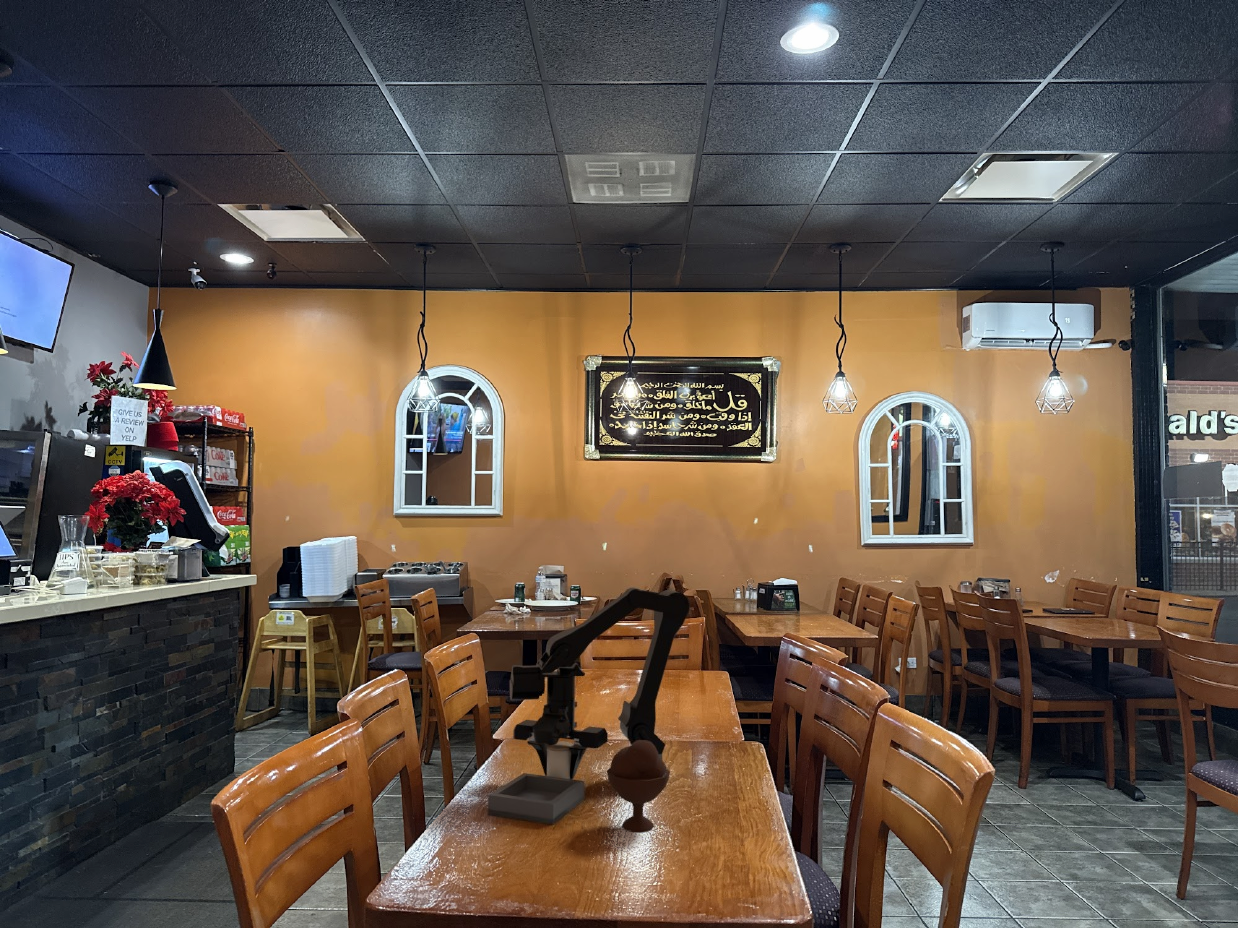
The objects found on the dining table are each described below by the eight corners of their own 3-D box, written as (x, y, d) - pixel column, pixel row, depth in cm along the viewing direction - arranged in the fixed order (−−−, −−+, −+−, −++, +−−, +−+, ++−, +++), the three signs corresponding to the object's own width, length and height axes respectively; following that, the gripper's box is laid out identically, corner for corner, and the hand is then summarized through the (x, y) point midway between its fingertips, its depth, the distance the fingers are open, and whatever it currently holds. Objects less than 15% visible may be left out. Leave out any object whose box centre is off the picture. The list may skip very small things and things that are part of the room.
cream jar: (577, 782, 165) (577, 742, 166) (566, 790, 160) (566, 749, 161) (552, 779, 167) (553, 740, 168) (541, 787, 162) (542, 746, 163)
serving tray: (584, 799, 155) (584, 780, 155) (553, 824, 142) (553, 804, 142) (523, 791, 160) (523, 772, 160) (487, 814, 147) (488, 794, 147)
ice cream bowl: (675, 819, 145) (676, 733, 147) (658, 842, 135) (658, 749, 136) (619, 811, 149) (620, 728, 150) (598, 833, 138) (599, 743, 139)
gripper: (500, 702, 161) (499, 783, 159) (587, 710, 154) (586, 795, 153) (526, 691, 171) (525, 767, 170) (609, 699, 164) (608, 778, 163)
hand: (559, 776), depth 164 cm, fingers closed on cream jar, 5 cm apart
